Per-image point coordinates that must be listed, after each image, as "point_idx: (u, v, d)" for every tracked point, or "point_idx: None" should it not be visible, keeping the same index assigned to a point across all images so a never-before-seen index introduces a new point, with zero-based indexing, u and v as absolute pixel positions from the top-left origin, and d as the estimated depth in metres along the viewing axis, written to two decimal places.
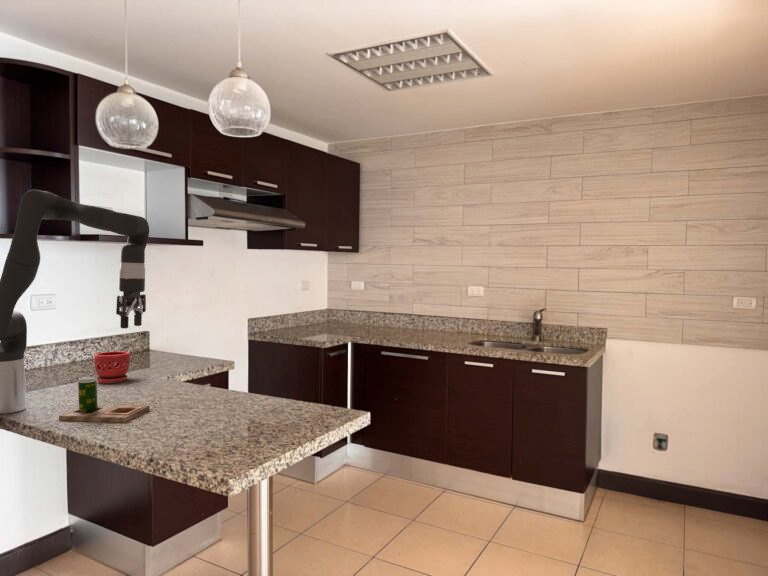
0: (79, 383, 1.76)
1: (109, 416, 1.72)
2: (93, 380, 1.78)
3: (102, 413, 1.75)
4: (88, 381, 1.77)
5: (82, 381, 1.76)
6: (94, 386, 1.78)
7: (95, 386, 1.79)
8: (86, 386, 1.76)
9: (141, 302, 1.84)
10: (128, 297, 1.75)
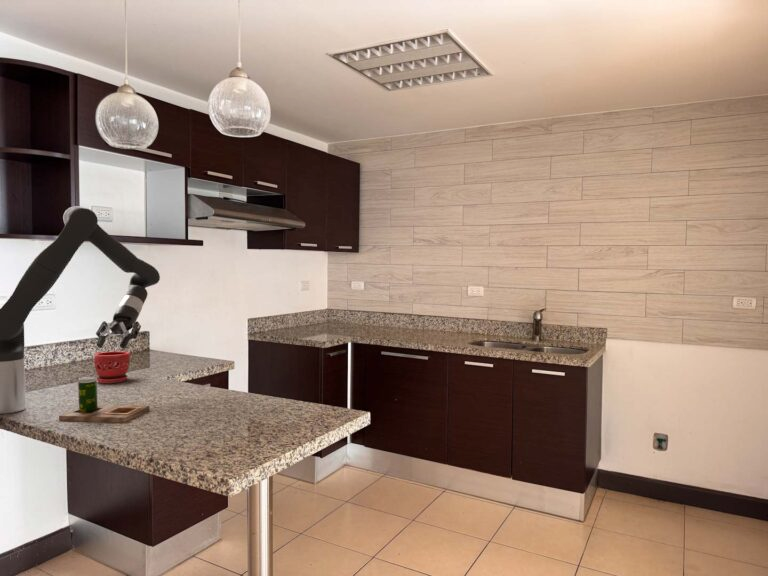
0: (79, 383, 1.76)
1: (109, 416, 1.72)
2: (93, 380, 1.78)
3: (102, 413, 1.75)
4: (88, 381, 1.77)
5: (82, 381, 1.76)
6: (94, 386, 1.78)
7: (95, 386, 1.79)
8: (86, 386, 1.76)
9: (104, 329, 1.96)
10: None
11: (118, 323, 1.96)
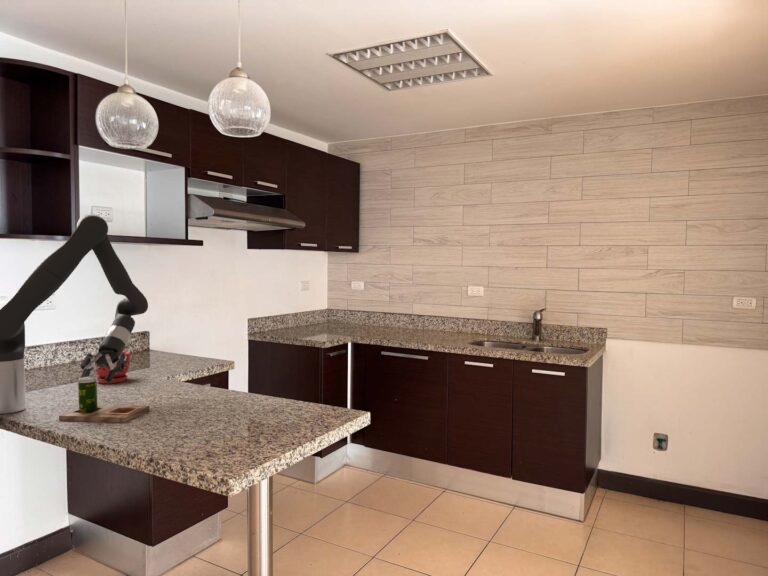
0: (79, 383, 1.76)
1: (109, 416, 1.72)
2: (93, 380, 1.78)
3: (102, 413, 1.75)
4: (88, 381, 1.77)
5: (82, 381, 1.76)
6: (94, 386, 1.78)
7: (95, 386, 1.79)
8: (86, 386, 1.76)
9: (89, 362, 1.89)
10: None
11: (104, 355, 1.88)
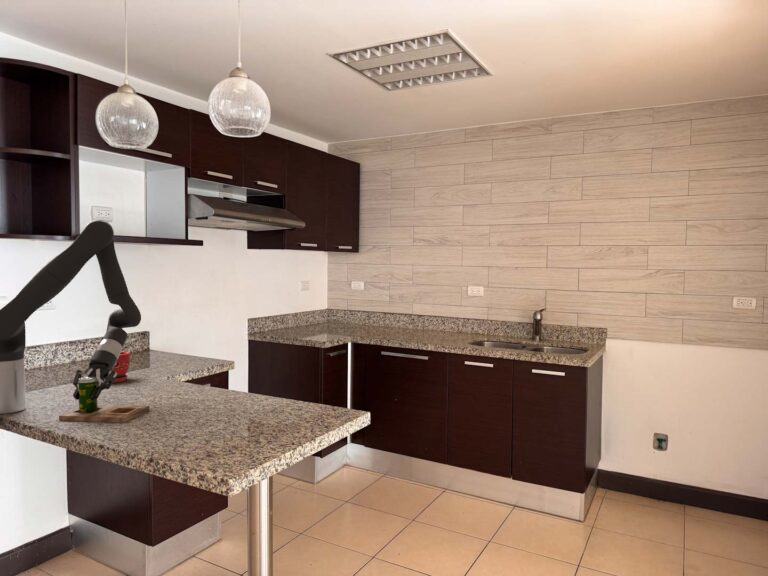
0: (79, 383, 1.76)
1: (109, 416, 1.72)
2: (93, 380, 1.78)
3: (102, 413, 1.75)
4: (88, 381, 1.77)
5: (82, 381, 1.76)
6: (94, 386, 1.78)
7: (95, 386, 1.79)
8: (86, 386, 1.76)
9: None
10: None
11: (94, 369, 1.83)
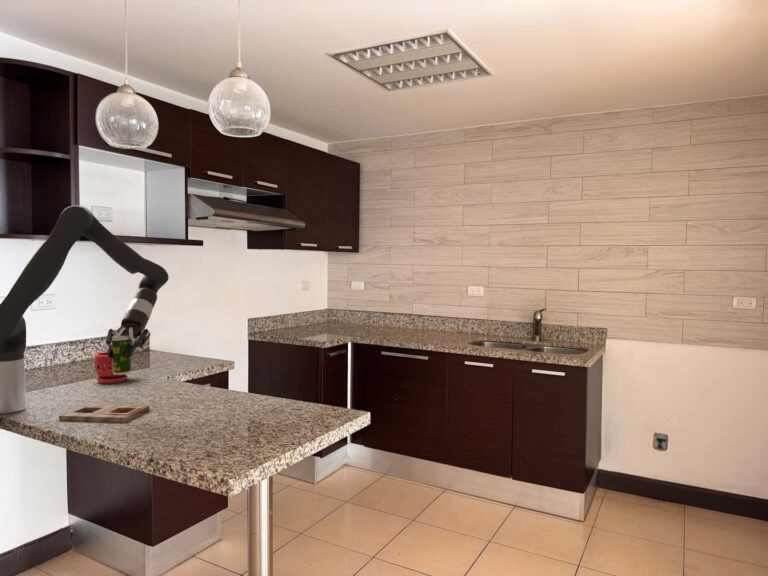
0: (113, 341, 1.75)
1: (109, 416, 1.72)
2: (127, 338, 1.76)
3: (102, 413, 1.75)
4: (122, 339, 1.75)
5: (116, 339, 1.74)
6: (128, 344, 1.76)
7: (129, 344, 1.77)
8: (120, 344, 1.74)
9: None
10: None
11: (126, 328, 1.81)
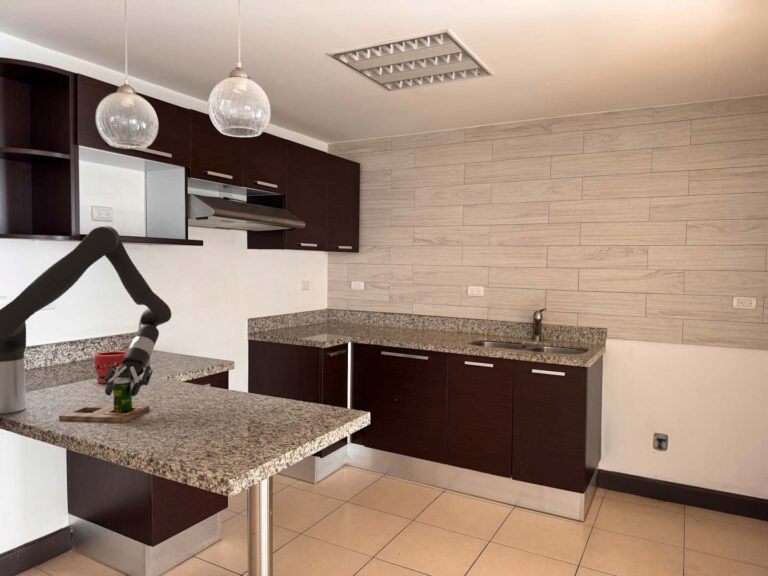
0: (114, 384, 1.75)
1: (109, 416, 1.72)
2: (128, 381, 1.77)
3: (102, 413, 1.75)
4: (123, 382, 1.75)
5: (117, 382, 1.75)
6: (129, 387, 1.77)
7: (130, 387, 1.77)
8: (121, 387, 1.75)
9: (113, 374, 1.82)
10: None
11: (128, 367, 1.82)
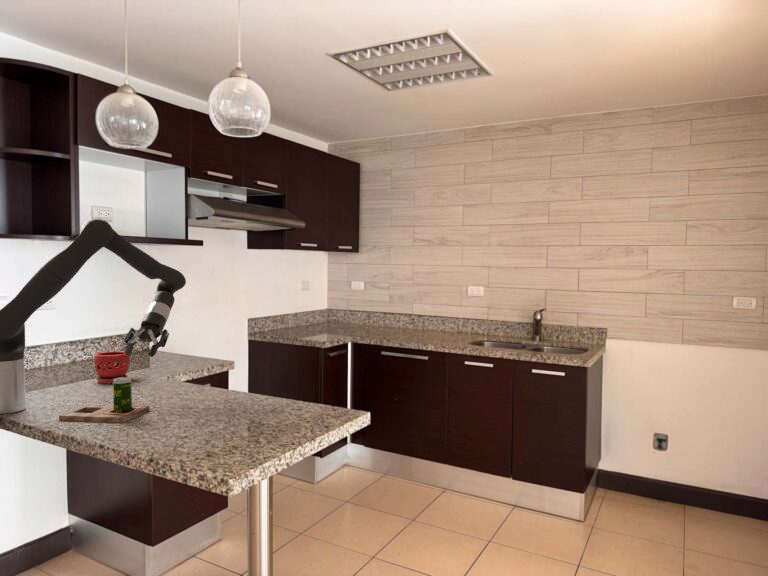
0: (114, 384, 1.75)
1: (109, 416, 1.72)
2: (128, 381, 1.77)
3: (102, 413, 1.75)
4: (123, 382, 1.75)
5: (117, 382, 1.75)
6: (129, 387, 1.77)
7: (130, 387, 1.77)
8: (121, 387, 1.75)
9: (132, 336, 1.94)
10: None
11: (146, 330, 1.94)
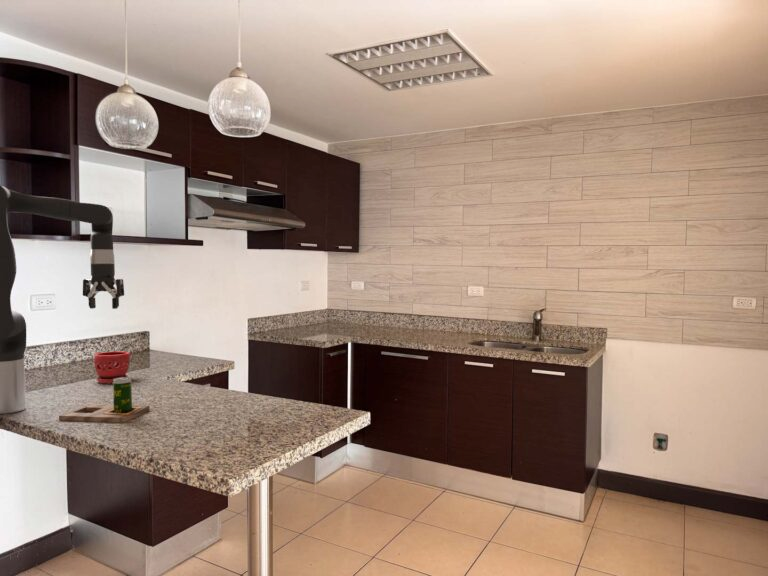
0: (114, 384, 1.75)
1: (109, 416, 1.72)
2: (128, 381, 1.77)
3: (102, 413, 1.75)
4: (123, 382, 1.75)
5: (117, 382, 1.75)
6: (129, 387, 1.77)
7: (130, 387, 1.77)
8: (121, 387, 1.75)
9: (88, 286, 1.96)
10: None
11: (99, 281, 1.94)
